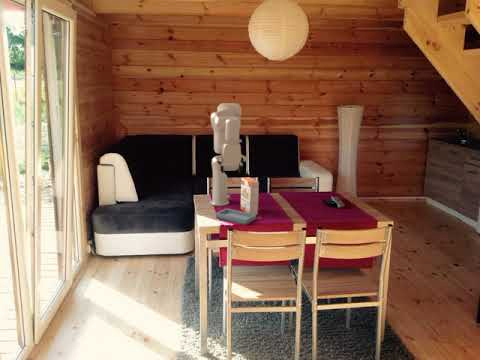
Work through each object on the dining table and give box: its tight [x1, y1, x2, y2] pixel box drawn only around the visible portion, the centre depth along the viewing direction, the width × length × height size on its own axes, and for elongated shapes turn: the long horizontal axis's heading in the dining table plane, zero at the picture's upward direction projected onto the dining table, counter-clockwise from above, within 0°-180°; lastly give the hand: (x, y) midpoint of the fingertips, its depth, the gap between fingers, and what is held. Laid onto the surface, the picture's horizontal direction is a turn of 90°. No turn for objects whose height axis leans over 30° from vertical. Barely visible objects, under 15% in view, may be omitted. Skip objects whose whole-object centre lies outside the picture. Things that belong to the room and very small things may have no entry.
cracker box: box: [240, 176, 260, 216], centre depth 280 cm, size 14×6×21 cm, turn 24°
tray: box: [215, 208, 257, 226], centre depth 269 cm, size 12×21×3 cm, turn 59°
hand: (231, 172), depth 249 cm, fingers open, 9 cm apart
